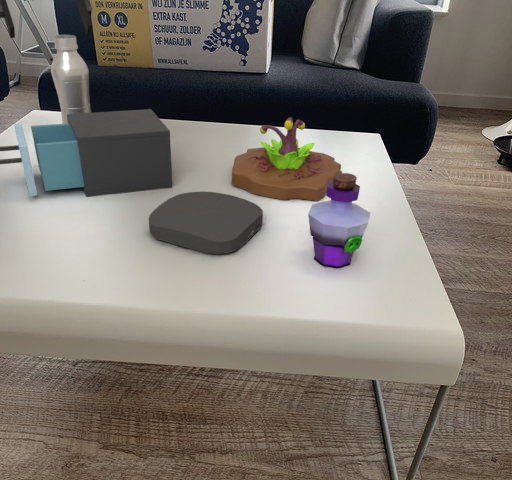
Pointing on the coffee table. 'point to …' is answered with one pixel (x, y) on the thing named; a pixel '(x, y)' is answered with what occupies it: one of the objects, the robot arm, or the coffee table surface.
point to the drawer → (49, 157)
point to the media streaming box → (206, 221)
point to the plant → (285, 168)
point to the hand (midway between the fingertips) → (52, 31)
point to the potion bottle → (338, 223)
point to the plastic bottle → (70, 77)
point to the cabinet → (122, 151)
